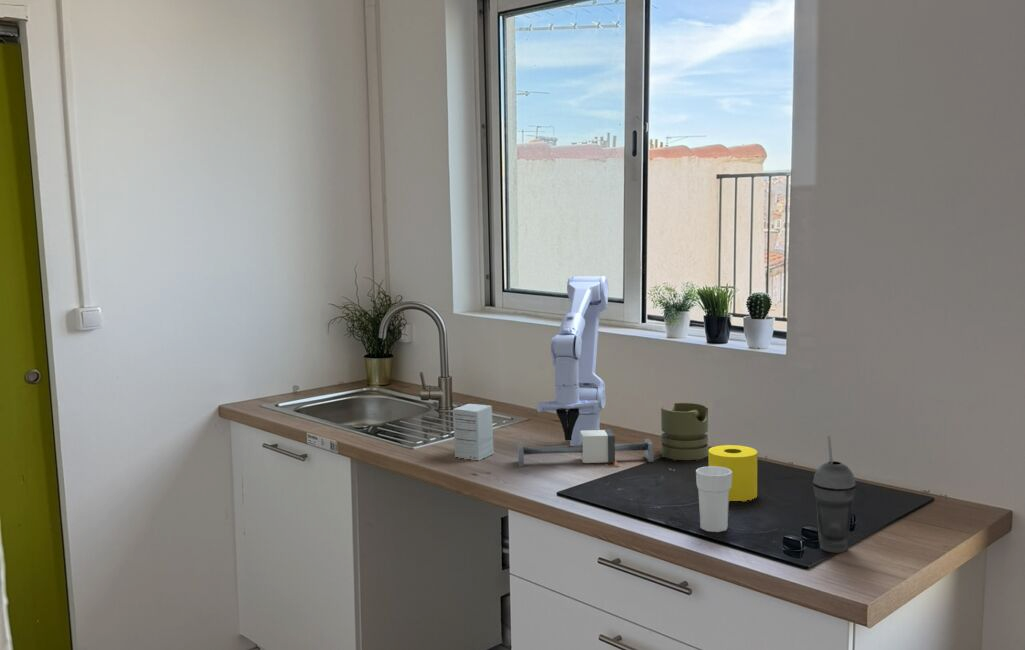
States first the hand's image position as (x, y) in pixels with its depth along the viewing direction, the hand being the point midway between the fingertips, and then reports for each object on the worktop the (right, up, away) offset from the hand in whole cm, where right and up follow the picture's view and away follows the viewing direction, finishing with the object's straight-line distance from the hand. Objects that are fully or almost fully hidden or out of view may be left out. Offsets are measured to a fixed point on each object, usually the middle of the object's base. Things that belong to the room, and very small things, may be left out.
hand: (568, 439), depth 225 cm
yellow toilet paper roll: (+33, -8, -28) cm, 44 cm away
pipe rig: (+4, -5, +1) cm, 7 cm away
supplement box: (-23, -6, +9) cm, 25 cm away
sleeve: (+6, -5, +1) cm, 8 cm away
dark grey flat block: (+10, -5, +1) cm, 12 cm away
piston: (+29, -5, +5) cm, 30 cm away
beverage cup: (+43, -12, -60) cm, 75 cm away
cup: (+25, -11, -48) cm, 55 cm away
